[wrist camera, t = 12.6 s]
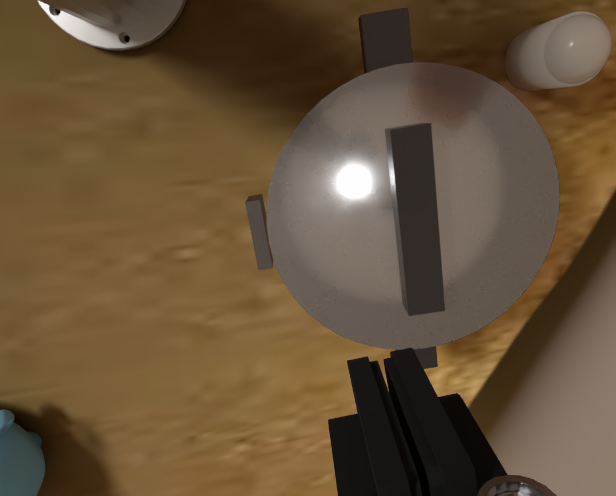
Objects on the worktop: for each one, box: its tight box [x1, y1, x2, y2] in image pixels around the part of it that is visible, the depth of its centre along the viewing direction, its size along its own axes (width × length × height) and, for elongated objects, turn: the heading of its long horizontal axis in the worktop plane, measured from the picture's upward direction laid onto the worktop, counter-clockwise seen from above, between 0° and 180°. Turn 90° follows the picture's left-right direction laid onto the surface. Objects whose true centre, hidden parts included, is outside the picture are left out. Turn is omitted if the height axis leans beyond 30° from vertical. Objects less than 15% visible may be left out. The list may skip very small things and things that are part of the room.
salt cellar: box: [504, 11, 612, 91], centre depth 34 cm, size 5×5×8 cm
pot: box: [245, 7, 438, 369], centre depth 36 cm, size 26×20×10 cm
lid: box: [266, 62, 560, 350], centre depth 29 cm, size 19×19×3 cm
